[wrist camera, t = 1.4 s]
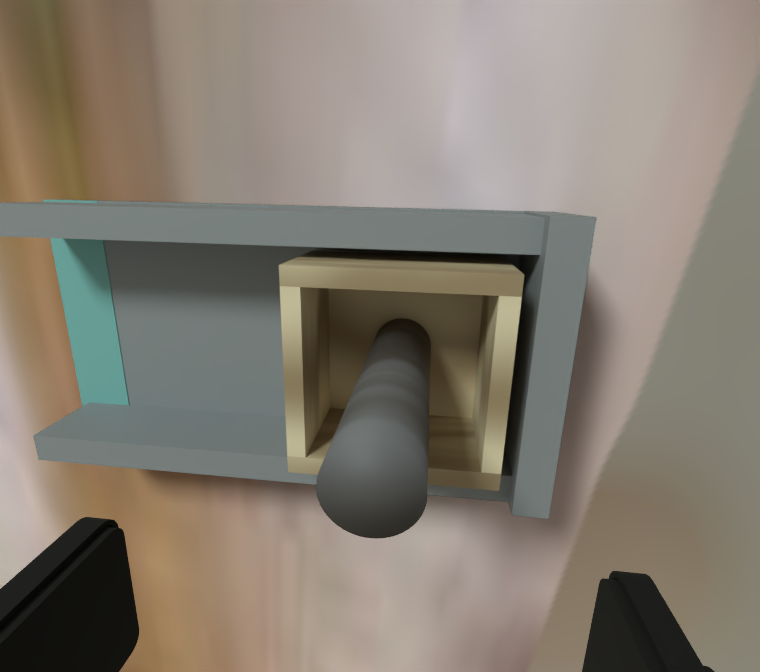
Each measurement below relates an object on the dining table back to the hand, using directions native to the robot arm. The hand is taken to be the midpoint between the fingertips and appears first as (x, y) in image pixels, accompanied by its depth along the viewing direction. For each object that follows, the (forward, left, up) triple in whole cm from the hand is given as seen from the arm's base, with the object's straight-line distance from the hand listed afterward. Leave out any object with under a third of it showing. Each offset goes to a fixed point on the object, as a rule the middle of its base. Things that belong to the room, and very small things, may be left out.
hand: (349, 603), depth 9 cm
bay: (-1, -6, -17) cm, 18 cm away
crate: (-1, 0, -15) cm, 15 cm away
